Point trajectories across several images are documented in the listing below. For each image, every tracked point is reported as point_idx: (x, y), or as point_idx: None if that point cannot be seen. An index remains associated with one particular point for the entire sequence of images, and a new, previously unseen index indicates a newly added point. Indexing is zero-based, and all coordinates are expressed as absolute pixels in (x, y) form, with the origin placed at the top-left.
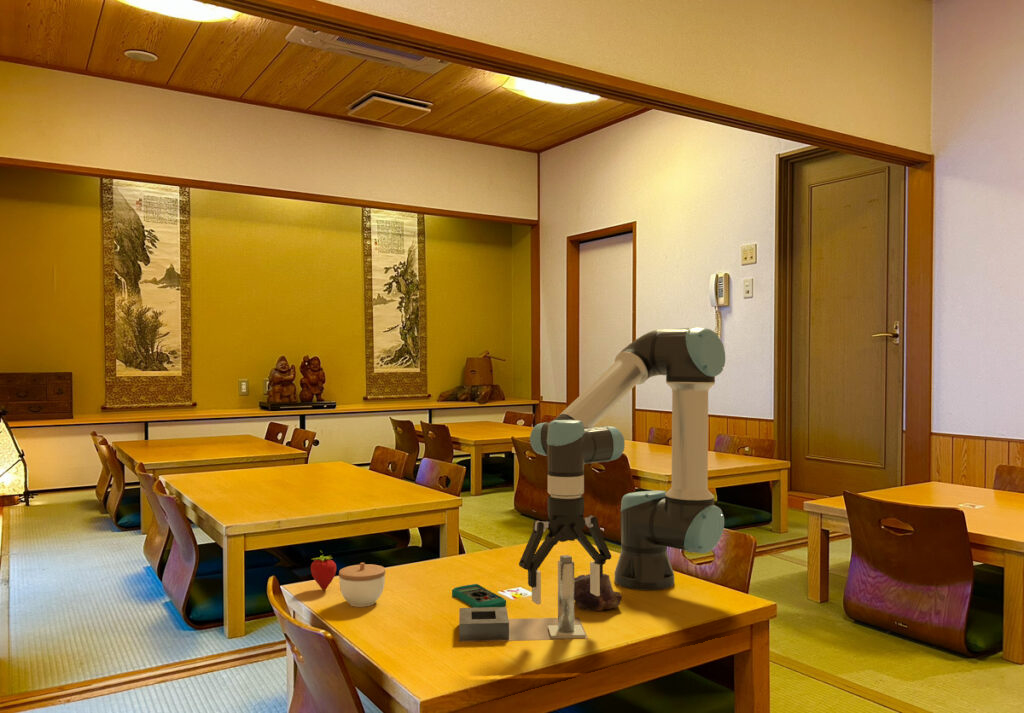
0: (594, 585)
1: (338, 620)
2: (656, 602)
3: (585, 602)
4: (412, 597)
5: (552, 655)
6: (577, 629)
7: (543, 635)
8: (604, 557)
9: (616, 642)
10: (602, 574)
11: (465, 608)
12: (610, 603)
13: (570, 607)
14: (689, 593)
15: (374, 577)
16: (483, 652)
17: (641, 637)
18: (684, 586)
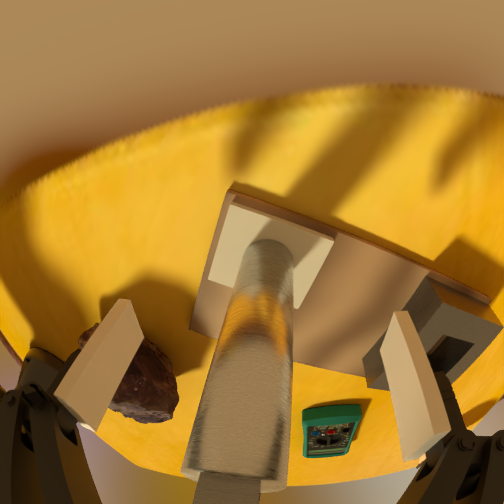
0: (118, 338)
1: (492, 400)
2: (44, 319)
3: (156, 361)
4: (388, 445)
5: (381, 140)
6: (233, 252)
7: (338, 266)
8: (27, 410)
9: (154, 155)
10: (69, 359)
11: None
12: None
13: (257, 285)
14: (13, 319)
15: None
16: (487, 244)
17: (88, 169)
18: (20, 340)
